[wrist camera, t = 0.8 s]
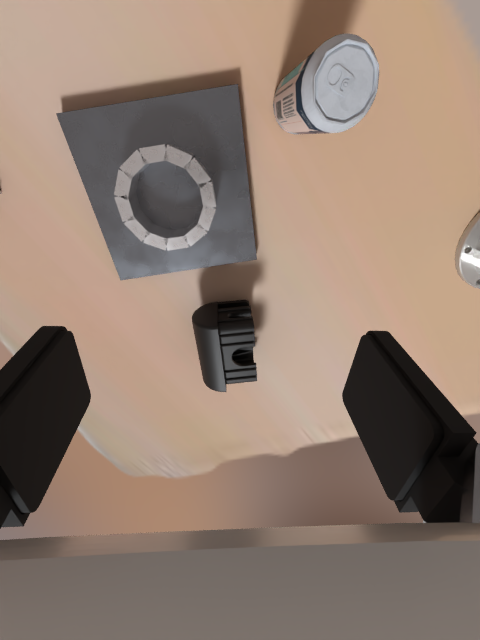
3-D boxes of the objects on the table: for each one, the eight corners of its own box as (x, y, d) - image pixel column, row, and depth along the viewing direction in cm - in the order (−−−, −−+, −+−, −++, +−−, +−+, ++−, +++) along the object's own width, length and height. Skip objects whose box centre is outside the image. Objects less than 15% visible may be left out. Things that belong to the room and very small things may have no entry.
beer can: (304, 144, 29) (351, 148, 19) (263, 117, 28) (289, 105, 17) (333, 90, 27) (404, 61, 17) (290, 58, 26) (338, 5, 15)
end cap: (193, 300, 38) (189, 330, 32) (248, 295, 38) (254, 324, 32) (204, 360, 43) (202, 395, 37) (252, 355, 43) (257, 389, 37)
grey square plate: (236, 86, 26) (240, 78, 23) (255, 255, 35) (260, 269, 31) (62, 114, 26) (38, 110, 23) (123, 276, 35) (112, 291, 31)
